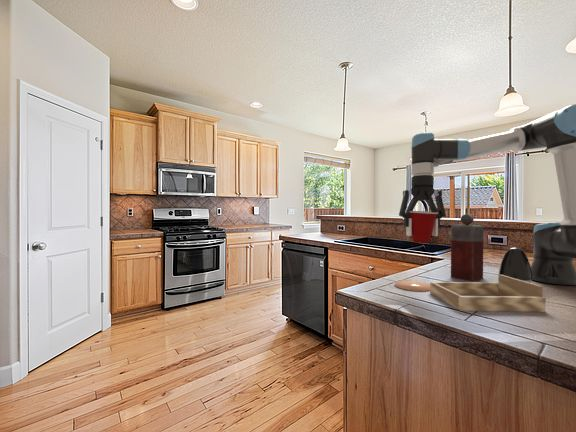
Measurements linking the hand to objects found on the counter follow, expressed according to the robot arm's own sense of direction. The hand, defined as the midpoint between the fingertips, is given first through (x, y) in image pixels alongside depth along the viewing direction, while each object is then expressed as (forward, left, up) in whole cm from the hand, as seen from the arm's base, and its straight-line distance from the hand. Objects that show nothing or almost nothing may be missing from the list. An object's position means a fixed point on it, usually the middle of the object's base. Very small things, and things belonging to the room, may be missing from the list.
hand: (421, 235), depth 105 cm
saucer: (+2, -3, -20) cm, 20 cm away
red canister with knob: (-27, -16, -20) cm, 37 cm away
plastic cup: (0, 0, -3) cm, 3 cm away
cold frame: (-12, +15, -20) cm, 28 cm away
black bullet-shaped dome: (-38, -5, -20) cm, 43 cm away
